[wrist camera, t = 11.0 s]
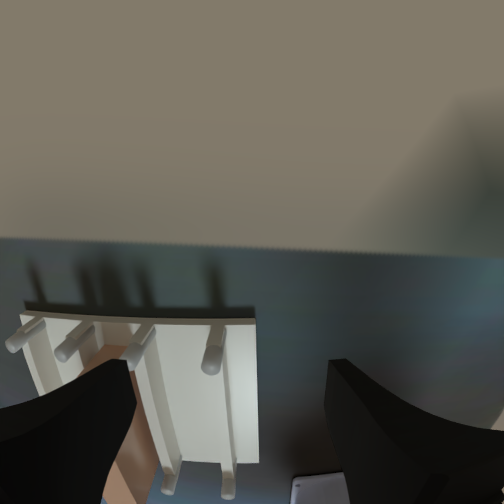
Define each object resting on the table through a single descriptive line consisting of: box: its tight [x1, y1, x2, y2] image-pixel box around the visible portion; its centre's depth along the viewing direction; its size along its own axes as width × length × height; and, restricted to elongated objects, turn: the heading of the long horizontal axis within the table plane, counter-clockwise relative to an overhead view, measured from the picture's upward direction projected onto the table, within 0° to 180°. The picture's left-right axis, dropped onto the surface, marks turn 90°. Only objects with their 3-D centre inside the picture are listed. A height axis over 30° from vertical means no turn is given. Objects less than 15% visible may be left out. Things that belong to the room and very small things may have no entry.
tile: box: [76, 344, 159, 504], centre depth 17 cm, size 10×2×7 cm, turn 2°
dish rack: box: [5, 310, 259, 500], centre depth 19 cm, size 13×18×5 cm
